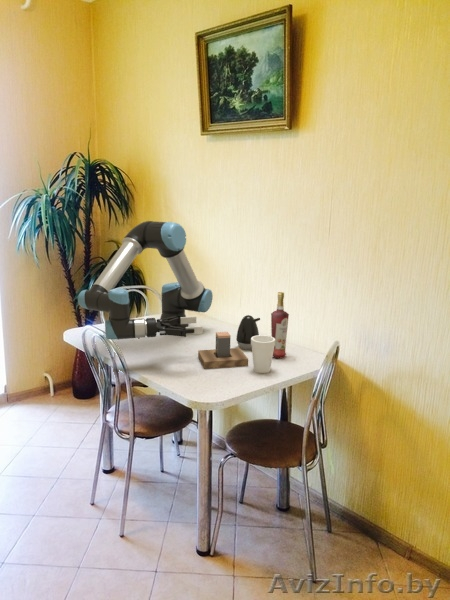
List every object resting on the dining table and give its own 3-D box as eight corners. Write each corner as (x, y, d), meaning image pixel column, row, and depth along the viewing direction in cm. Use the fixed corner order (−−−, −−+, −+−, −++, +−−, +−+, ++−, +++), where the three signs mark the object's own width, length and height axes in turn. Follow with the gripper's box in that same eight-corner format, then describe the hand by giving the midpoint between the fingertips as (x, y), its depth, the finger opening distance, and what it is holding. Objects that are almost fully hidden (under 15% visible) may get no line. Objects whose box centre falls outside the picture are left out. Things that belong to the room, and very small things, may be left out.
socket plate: (204, 369, 190) (204, 361, 190) (198, 357, 204) (198, 350, 203) (248, 366, 195) (248, 359, 194) (239, 354, 208) (239, 347, 207)
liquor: (277, 360, 201) (280, 295, 195) (265, 355, 207) (268, 292, 201) (290, 357, 205) (293, 293, 199) (278, 352, 211) (281, 290, 205)
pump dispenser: (257, 352, 211) (258, 319, 207) (234, 350, 213) (235, 317, 209) (260, 345, 221) (261, 313, 217) (238, 343, 223) (239, 311, 219)
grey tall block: (217, 364, 196) (218, 336, 193) (215, 359, 201) (215, 332, 198) (229, 363, 197) (230, 335, 195) (227, 359, 202) (227, 331, 199)
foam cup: (261, 364, 197) (262, 333, 194) (278, 370, 191) (280, 339, 188) (245, 369, 191) (246, 338, 188) (262, 376, 184) (263, 344, 181)
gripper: (143, 327, 201) (194, 324, 206) (148, 347, 177) (205, 343, 182) (143, 310, 199) (193, 307, 204) (147, 328, 175) (205, 324, 180)
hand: (199, 324), depth 193 cm, fingers open, 13 cm apart
